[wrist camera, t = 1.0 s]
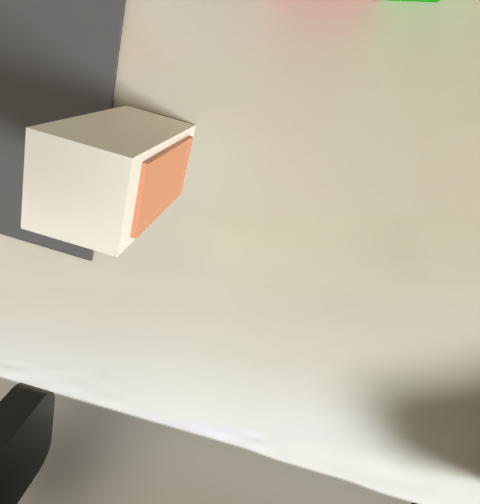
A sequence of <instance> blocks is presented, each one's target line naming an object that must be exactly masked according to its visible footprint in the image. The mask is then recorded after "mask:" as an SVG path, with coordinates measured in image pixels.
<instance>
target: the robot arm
mask: <svg viewBox="0 0 480 504" xmlns="http://www.w3.org/2000/svg"><path fill="white" fill-rule="evenodd" d="M54 402H55V396H54V393H53V392H50V391H46V390H43V389H40V388H36V387H33V386H30V385H26V384H23V383H19V384H17V385H16V386H14V387H13V388H12V389H11V390H10V392H9V393H8V394H7V395H6V396H5V397H4V398H3V399H2V400H1V401H0V504H17V503H18V501H19V500H20V498H21V497H22V496H23V494H24V492H25V491H26V490H27V488H28V487H29V485H30V484H31V482H32V481H33V479H34V478H35V476H36V475H37V473H38V472H39V470H40V468H41V467H42V465H43V463H44V461H45V458H46V456H47V454H48V451H49V448H50V444H51V439H52V427H53V414H54ZM411 504H417V503H411Z"/></svg>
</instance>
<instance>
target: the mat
mask: <svg viewBox="0 0 480 504" xmlns="http://www.w3.org/2000/svg"><path fill="white" fill-rule="evenodd" d="M125 2H126V0H0V234H3V235H6V236H10V237H13V238H16V239H20V240H23V241H26V242H30V243H33V244H36V245H40V246H43V247H46V248H50V249H53V250H56V251H60V252H63V253H66V254H70V255H73V256H76V257H80V258H83V259H86V260H90V261H91V260H92V259H93V251H94V250H92V249H88V248H85V247H81V246H78V245H75V244H71V243H68V242H65V241H61V240H58V239H55V238H51V237H48V236H45V235H41V234H38V233H35V232H31V231H28V230H25V229H21V211H22V192H23V173H24V154H25V135H26V127H30V126H35V125H39V124H44V123H48V122H53V121H57V120H62V119H67V118H71V117H76V116H80V115H85V114H89V113H94V112H99V111H103V110H108V109H112V103H113V96H114V88H115V80H116V72H117V65H118V57H119V49H120V41H121V33H122V26H123V18H124V10H125Z"/></svg>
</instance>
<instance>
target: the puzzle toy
mask: <svg viewBox="0 0 480 504" xmlns="http://www.w3.org/2000/svg"><path fill="white" fill-rule="evenodd" d="M390 1H421V2H438V1H440V0H390Z"/></svg>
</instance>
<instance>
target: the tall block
mask: <svg viewBox="0 0 480 504" xmlns="http://www.w3.org/2000/svg"><path fill="white" fill-rule="evenodd" d="M195 126H196V125H193V124H190V123H186V122H183V121H180V120H176V119H173V118H169V117H166V116H162V115H159V114H155V113H152V112H148V111H145V110H141V109H138V108H134V107H131V106H127V105H126V106H121V107H117V108H112V109H108V110H103V111H99V112H94V113H89V114H85V115H80V116H76V117H71V118H67V119H62V120H57V121H53V122H48V123H44V124H39V125H35V126H30V127H26V135H25V154H24V173H23V192H22V211H21V229H25V230H28V231H31V232H35V233H38V234H41V235H45V236H48V237H51V238H55V239H58V240H61V241H65V242H68V243H71V244H75V245H78V246H81V247H85V248H88V249H92V250H95V251H98V252H102V253H105V254H108V255H112V256H115V257H118V256H119V255H120V254H121V253H122V252H123V251H124V250H125V249H126V248H127V247H128V246H129V245H130V244H131V243H132V242H133V241H134V240H135V239H136V238H137V237H138V236H139V235H140V234H141V233H142V232H143V231H144V230H145V229H146V228H147V227H148V226H149V225H150V224H151V223H152V222H153V221H154V220H155V219H156V218H157V217H158V216H159V215H160V214H161V213H162V212H163V211H164V210H165V209H166V208H167V207H168V206H169V205H170V204H171V203H172V202H173V201H174V200H175V199H176V198H177V197H178V196H179V195H180V194H181V193H182V189H183V184H184V180H185V175H186V170H187V165H188V160H189V155H190V151H191V146H192V141H193V136H194V131H195Z"/></svg>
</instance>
